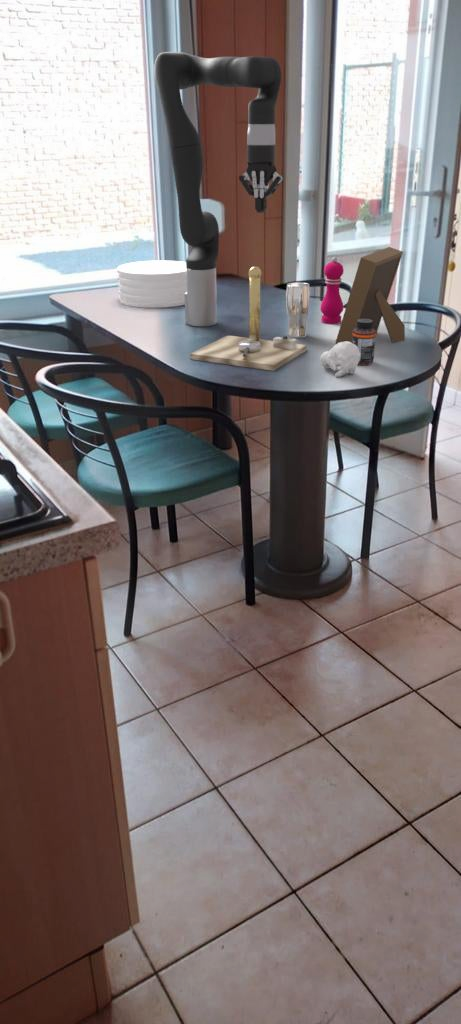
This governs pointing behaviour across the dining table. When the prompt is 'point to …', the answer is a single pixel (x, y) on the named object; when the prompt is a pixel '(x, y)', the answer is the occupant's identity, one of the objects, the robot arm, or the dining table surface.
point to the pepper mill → (332, 293)
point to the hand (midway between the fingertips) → (260, 212)
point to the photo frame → (373, 295)
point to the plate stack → (152, 283)
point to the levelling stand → (266, 358)
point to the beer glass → (297, 308)
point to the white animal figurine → (341, 358)
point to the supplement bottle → (364, 340)
